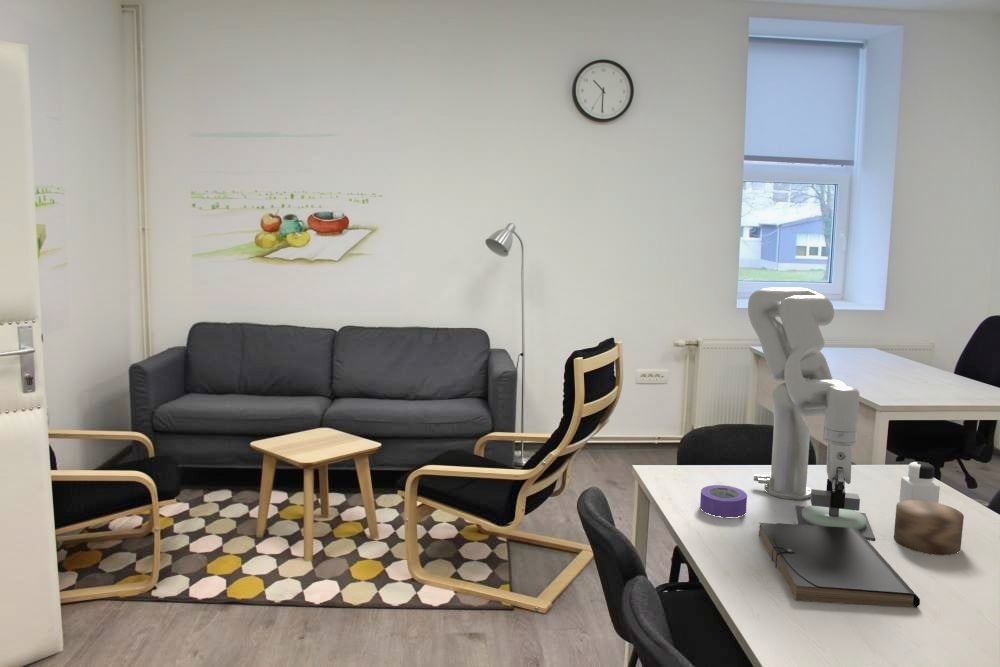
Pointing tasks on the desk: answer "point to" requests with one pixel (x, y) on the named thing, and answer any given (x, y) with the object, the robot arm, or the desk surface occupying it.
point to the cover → (833, 511)
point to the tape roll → (723, 501)
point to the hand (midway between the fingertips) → (834, 501)
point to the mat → (865, 532)
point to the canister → (928, 527)
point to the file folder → (834, 566)
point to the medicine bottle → (919, 483)
